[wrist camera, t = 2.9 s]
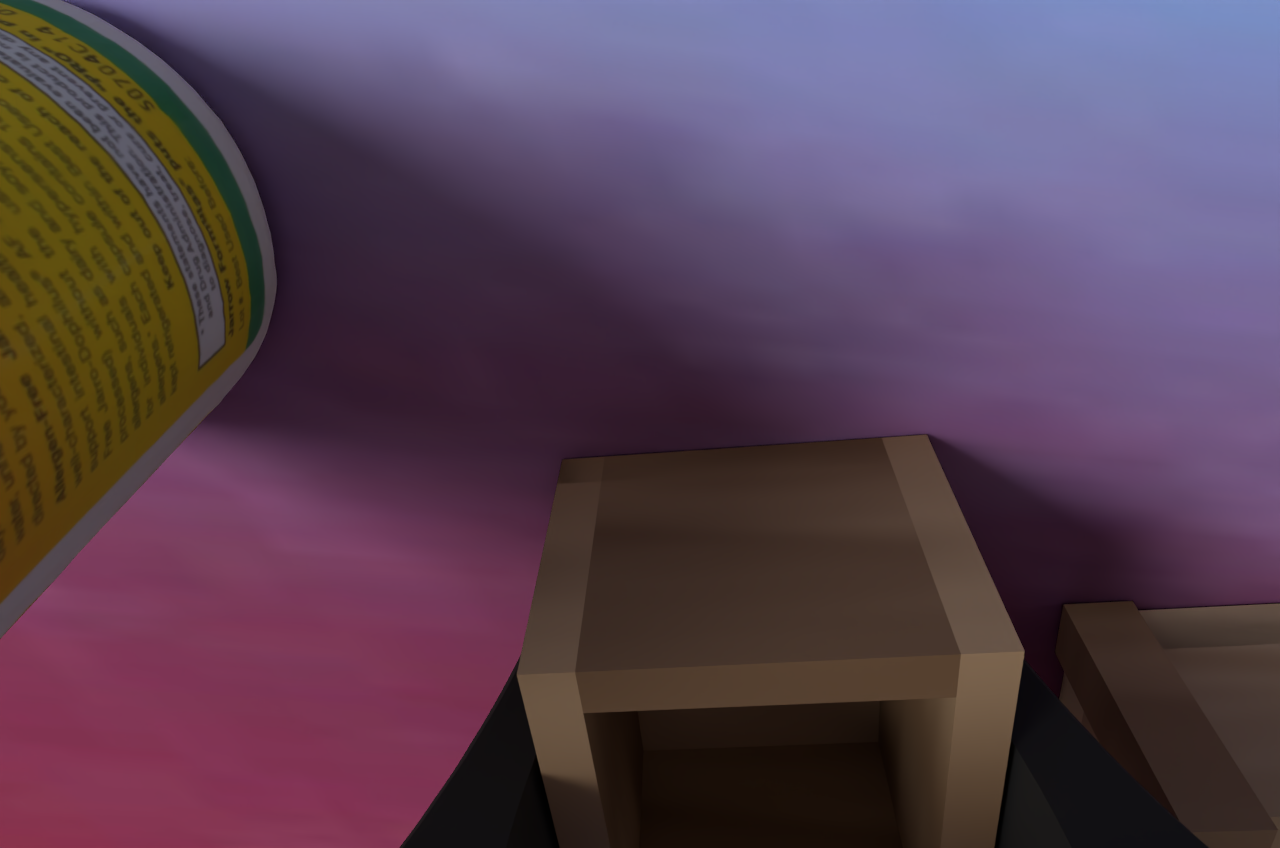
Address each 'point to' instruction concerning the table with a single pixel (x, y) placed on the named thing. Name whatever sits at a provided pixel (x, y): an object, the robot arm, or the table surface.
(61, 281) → the supplement bottle
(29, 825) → the table surface
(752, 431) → the table surface
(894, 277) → the table surface
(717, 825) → the small crate
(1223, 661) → the crate
